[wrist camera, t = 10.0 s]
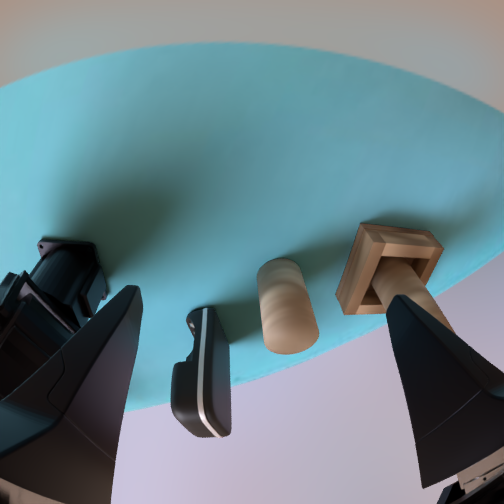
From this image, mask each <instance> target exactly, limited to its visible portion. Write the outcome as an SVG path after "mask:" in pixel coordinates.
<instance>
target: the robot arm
mask: <svg viewBox="0 0 504 504" xmlns="http://www.w3.org/2000/svg"><path fill="white" fill-rule="evenodd" d="M42 245H43V246H42ZM37 246H38V249H39V253H40V256H41V259H40V260H39V262H38V263H37V265H36V266H35V267H34V269H33V270H32V272H31V273H30V275H29V274H28V273H27V272H26V271H25V270H24V271H23V272H22V273H21V274H18V275H17V274H14V273H11V272H9V273H8V274H7V275H6V276H5V278H4V279H3V281H2V282H1V283H0V504H111V494H112V485H113V477H114V469H115V460H116V454H117V448H118V442H119V435H120V430H121V424H122V419H123V414H124V409H125V404H126V399H127V394H128V389H129V384H130V380H131V376H132V371H133V367H134V363H135V358H136V354H137V349H138V342H139V334H140V327H141V320H142V313H143V302H142V297H141V291H140V288H139V286H136V285H127V286H125V287H124V288H123V289H122V290H121V291H120V292H119V293H118V294H116V295H115V296H114V297H113V298H112V299H111V300H110V301H109V302H108V303H107V304H106V305H105V306H104V307H102V308H101V309H100V310H99V311H98V312H97V313H96V310H97V308H98V305H99V303H100V301H101V300H106V298H107V291H106V283H105V279H104V275H103V271H102V267H101V265H100V264H99V260H98V255H97V251H96V247H95V245H94V244H93V243H91V242H76V241H57V240H40V241H39V242H38V244H37ZM89 247H90V248H91V249H92V250H91V249H89ZM95 313H96V314H95ZM89 318H91V319H90V320H89V321H88V319H89ZM386 318H387V323H388V327H389V333H390V338H391V343H392V348H393V351H394V356H395V359H396V363H397V366H398V370H399V374H400V377H401V381H402V385H403V389H404V393H405V397H406V401H407V406H408V410H409V415H410V419H411V424H412V428H413V434H414V439H415V443H416V444H415V445H416V450H417V456H418V463H419V470H420V477H421V483H422V488H423V489H424V488H427V487H429V486H431V485H433V484H436V483H438V482H440V481H443V480H445V479H447V478H449V477H451V476H453V475H455V474H457V477H458V481H457V482H455V483H453V484H451V485H449V486H447V487H445V488H444V489H443V491H442V494H441V496H440V498H439V500H438V502H437V504H504V373H503V372H502V371H501V370H499V369H498V368H497V367H495V366H494V365H493V364H491V363H490V362H489V361H487V360H486V359H485V358H484V357H482V356H481V355H480V354H479V353H477V352H476V351H475V350H474V349H473V348H472V347H470V346H468V344H467V343H466V342H464V341H463V340H462V339H461V338H459V337H458V336H457V335H456V334H455V333H453V332H452V331H451V330H450V329H448V328H447V327H446V326H445V325H444V324H442V323H441V322H440V321H439V320H437V319H436V318H435V317H434V316H432V315H431V314H430V313H428V312H427V311H426V310H425V309H423V308H422V307H421V306H419V305H418V304H417V303H416V302H414V301H413V300H412V299H410V298H409V297H408V296H406V295H405V294H396V295H395V296H394V297H393V299H392V301H391V302H390V304H389V306H388V308H387V310H386ZM87 321H88V322H87Z"/></svg>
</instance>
